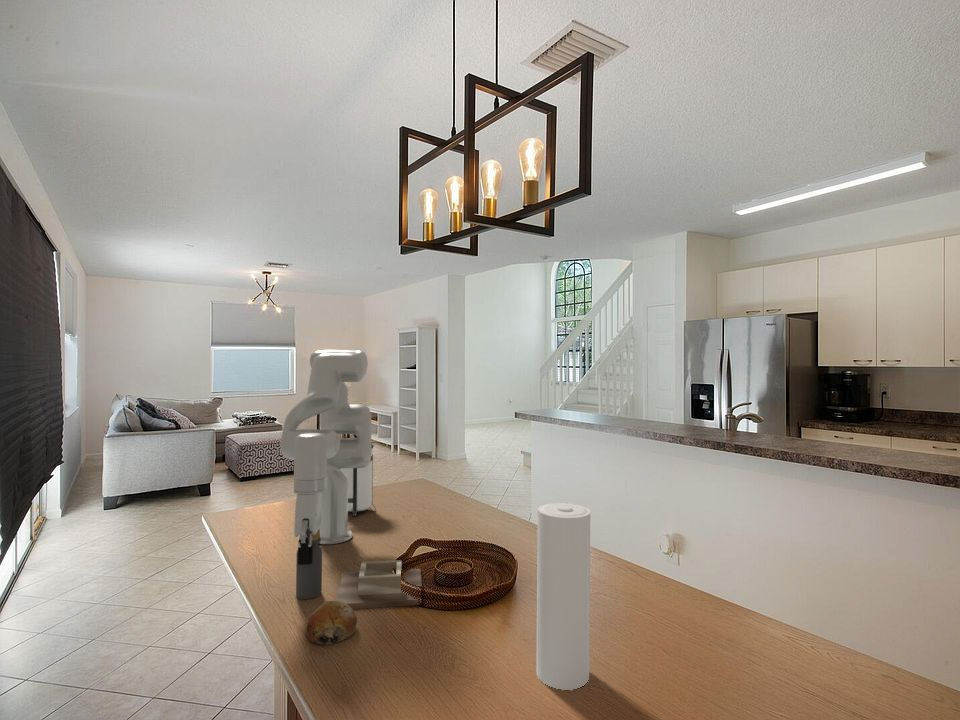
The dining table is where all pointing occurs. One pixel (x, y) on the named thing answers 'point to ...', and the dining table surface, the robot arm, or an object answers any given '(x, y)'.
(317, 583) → the bottle
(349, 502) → the coffee press
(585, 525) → the cylinder container
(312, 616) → the bread roll
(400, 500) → the dining table surface
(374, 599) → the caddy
